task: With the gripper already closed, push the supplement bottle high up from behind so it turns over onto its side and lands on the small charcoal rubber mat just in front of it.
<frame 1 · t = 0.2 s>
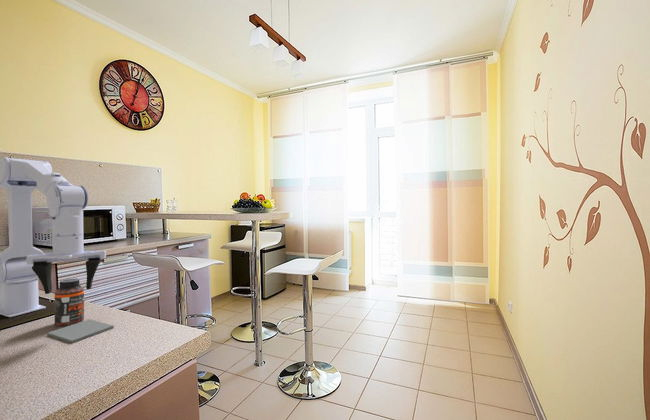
hand: (69, 290, 73), 10 cm above the table, tool pointing down, fingers open, 7 cm apart
supplement bottle: (69, 323, 79), on the table
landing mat: (81, 331, 73), on the table
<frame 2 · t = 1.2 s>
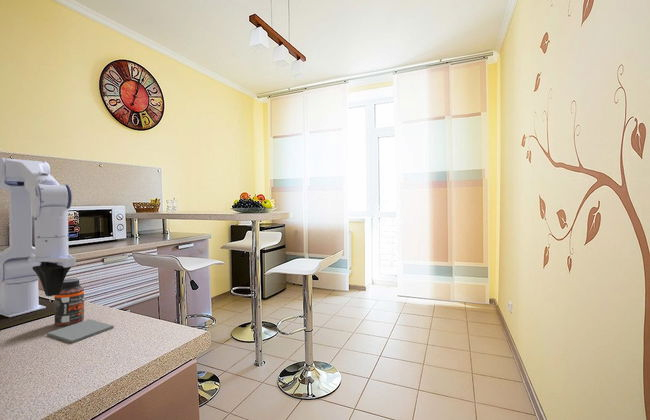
hand: (52, 295, 69), 10 cm above the table, tool pointing down, fingers closed
nothing on the table moved.
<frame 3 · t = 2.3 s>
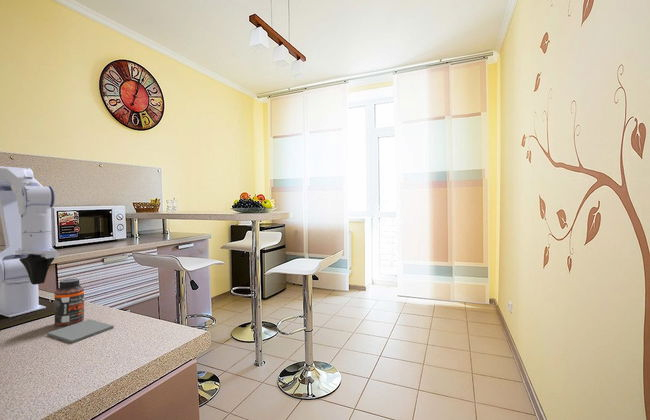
hand: (37, 283, 78), 10 cm above the table, tool pointing down, fingers closed
nothing on the table moved.
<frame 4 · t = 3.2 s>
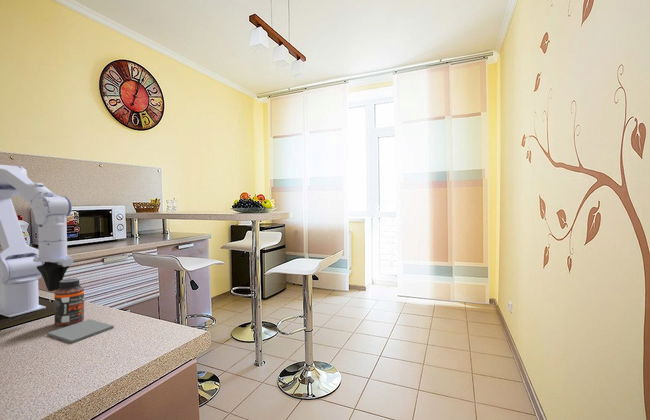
hand: (53, 290, 81), 8 cm above the table, tool pointing down, fingers closed
nothing on the table moved.
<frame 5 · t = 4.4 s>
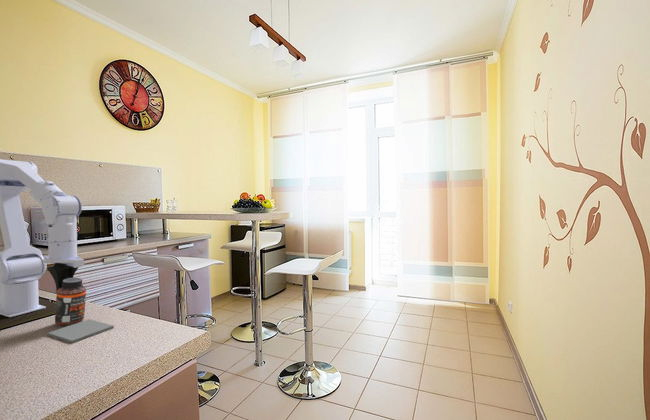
hand: (63, 291, 79), 8 cm above the table, tool pointing down, fingers closed, pressing on supplement bottle
supplement bottle: (69, 322, 79), on the table, touching gripper
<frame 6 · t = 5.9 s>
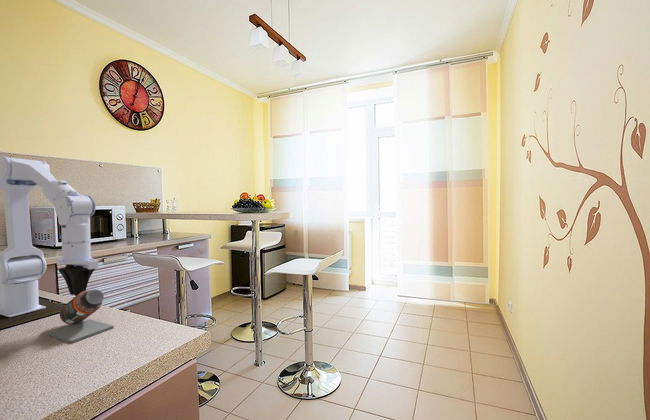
hand: (77, 294, 77), 8 cm above the table, tool pointing down, fingers closed
supplement bottle: (72, 314, 78), point 2 cm above the table, touching gripper
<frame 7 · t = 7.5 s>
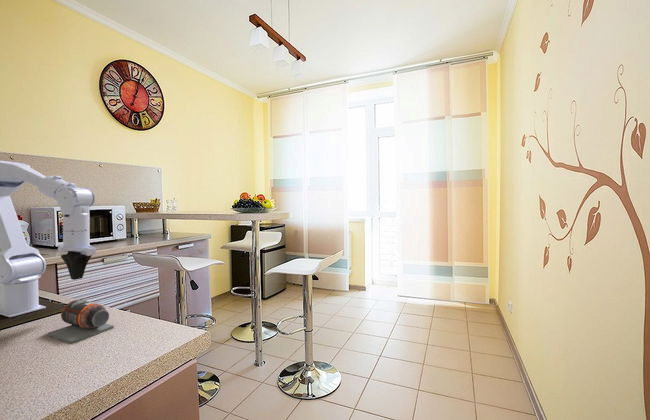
hand: (77, 278, 84), 10 cm above the table, tool pointing down, fingers closed
supplement bottle: (73, 311, 77), point 4 cm above the table, touching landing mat
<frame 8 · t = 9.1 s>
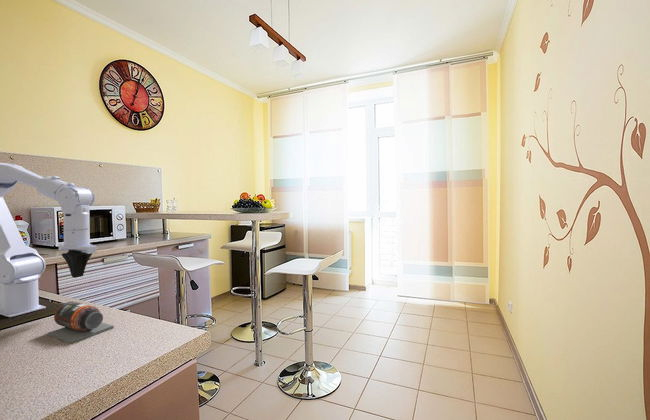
hand: (77, 276, 85), 10 cm above the table, tool pointing down, fingers closed
supplement bottle: (66, 312, 76), point 4 cm above the table, touching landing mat
at the end: supplement bottle tilted 91°; supplement bottle inside the target area (2.9 cm from its centre), point 3.6 cm above the table; the gripper is holding nothing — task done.
